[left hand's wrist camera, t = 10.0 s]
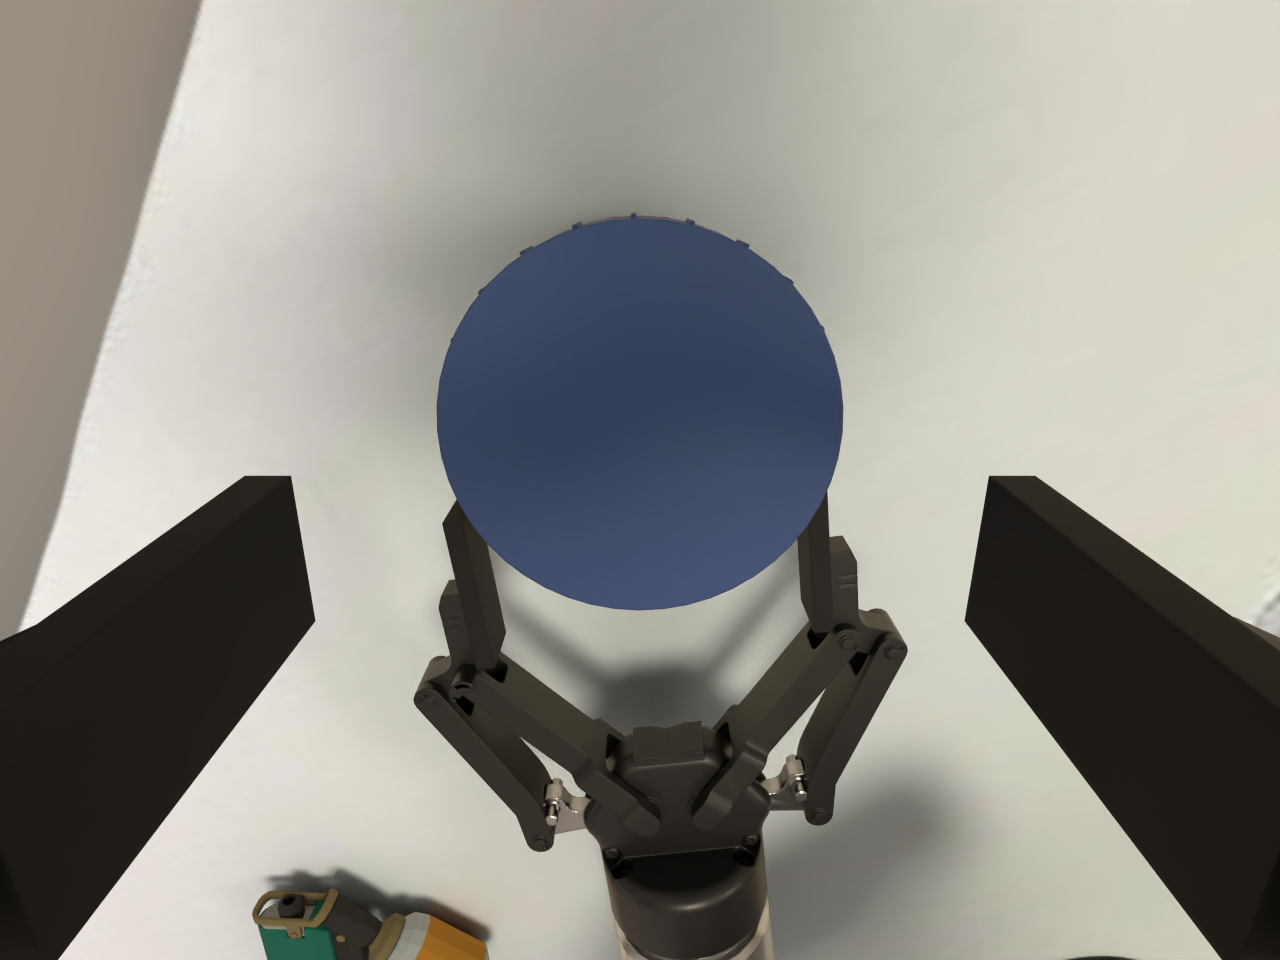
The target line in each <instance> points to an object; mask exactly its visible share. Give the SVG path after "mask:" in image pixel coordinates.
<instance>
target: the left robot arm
mask: <svg viewBox="0 0 1280 960" xmlns="http://www.w3.org/2000/svg"><path fill="white" fill-rule="evenodd" d="M314 622H315V616H314V610H313V604H312V598H311V592H310V586H309V580H308V574H307V568H306V562H305V556H304V551H303V545H302V539H301V533H300V527H299V521H298V515H297V509H296V503H295V497H294V491H293V485H292V479H291V476H244V477H242V478H241V479H240V480H238V481H237V482H235V483H234V484H233V485H231V486H230V487H228V488H227V489H226V490H224V491H223V492H221V493H220V494H219V495H217V496H216V497H214V498H213V499H212V500H210V501H209V502H207V503H206V504H205V505H203V506H202V507H200V508H199V509H198V510H196V511H195V512H193V513H192V514H191V515H189V516H188V517H186V518H185V519H184V520H182V521H181V522H179V523H178V524H177V525H175V526H174V527H172V528H171V529H170V530H168V531H167V532H165V533H164V534H163V535H161V536H160V537H158V538H157V539H156V540H154V541H153V542H151V543H150V544H149V545H147V546H146V547H144V548H143V549H142V550H140V551H139V552H137V553H136V554H135V555H133V556H132V557H130V558H129V559H128V560H126V561H125V562H123V563H122V564H121V565H119V566H118V567H116V568H115V569H114V570H112V571H111V572H109V573H108V574H107V575H105V576H104V577H102V578H101V579H100V580H98V581H97V582H95V583H94V584H93V585H91V586H90V587H88V588H87V589H86V590H84V591H83V592H81V593H80V594H79V595H77V596H76V597H74V598H73V599H72V600H70V601H69V602H67V603H66V604H65V605H63V606H62V607H60V608H59V609H58V610H56V611H55V612H53V613H52V614H51V615H49V616H48V617H46V618H45V619H44V620H42V621H41V622H39V623H38V624H36V625H34V626H32V627H30V628H28V629H26V630H24V631H21V632H19V633H17V634H15V635H13V636H11V637H8V638H6V639H4V640H2V641H0V960H58V959H59V958H60V956H61V955H62V954H63V953H64V951H65V950H66V949H67V947H68V946H69V945H70V943H71V942H72V941H73V939H74V938H75V937H76V935H77V934H78V933H79V931H80V930H81V929H82V927H83V926H84V925H85V924H86V922H87V921H88V920H89V918H90V917H91V916H92V914H93V913H94V912H95V910H96V909H97V908H98V906H99V905H100V904H101V902H102V901H103V900H104V899H105V897H106V896H107V895H108V893H109V892H110V891H111V889H112V888H113V887H114V885H115V884H116V883H117V881H118V880H119V879H120V877H121V876H122V875H123V874H124V872H125V871H126V870H127V868H128V867H129V866H130V864H131V863H132V862H133V860H134V859H135V858H136V856H137V855H138V854H139V852H140V851H141V850H142V849H143V847H144V846H145V845H146V843H147V842H148V841H149V839H150V838H151V837H152V835H153V834H154V833H155V831H156V830H157V829H158V827H159V826H160V825H161V823H162V822H163V821H164V820H165V818H166V817H167V816H168V814H169V813H170V812H171V810H172V809H173V808H174V806H175V805H176V804H177V802H178V801H179V800H180V798H181V797H182V796H183V795H184V793H185V792H186V791H187V789H188V788H189V787H190V785H191V784H192V783H193V781H194V780H195V779H196V777H197V776H198V775H199V773H200V772H201V771H202V770H203V768H204V767H205V766H206V764H207V763H208V762H209V760H210V759H211V758H212V756H213V755H214V754H215V752H216V751H217V750H218V748H219V747H220V746H221V745H222V743H223V742H224V741H225V739H226V738H227V737H228V735H229V734H230V733H231V731H232V730H233V729H234V727H235V726H236V725H237V723H238V722H239V721H240V719H241V718H242V717H243V716H244V714H245V713H246V712H247V710H248V709H249V708H250V706H251V705H252V704H253V702H254V701H255V700H256V698H257V697H258V696H259V694H260V693H261V692H262V691H263V689H264V688H265V687H266V685H267V684H268V683H269V681H270V680H271V679H272V677H273V676H274V675H275V673H276V672H277V671H278V669H279V668H280V667H281V666H282V664H283V663H284V662H285V660H286V659H287V658H288V656H289V655H290V654H291V652H292V651H293V650H294V648H295V647H296V646H297V644H298V643H299V642H300V641H301V639H302V638H303V637H304V635H305V634H306V633H307V631H308V630H309V629H310V627H311V626H312V625H313V623H314ZM965 622H966V623H967V625H968V626H969V627H970V629H971V630H972V631H973V633H974V634H975V635H976V637H977V638H978V639H979V641H980V642H981V643H982V644H983V646H984V647H985V648H986V650H987V651H988V652H989V654H990V655H991V656H992V658H993V659H994V660H995V662H996V663H997V664H998V666H999V667H1000V668H1001V669H1002V671H1003V672H1004V673H1005V675H1006V676H1007V677H1008V679H1009V680H1010V681H1011V683H1012V684H1013V685H1014V687H1015V688H1016V689H1017V691H1018V692H1019V693H1020V694H1021V696H1022V697H1023V698H1024V700H1025V701H1026V702H1027V704H1028V705H1029V706H1030V708H1031V709H1032V710H1033V712H1034V713H1035V714H1036V716H1037V717H1038V718H1039V720H1040V721H1041V722H1042V723H1043V725H1044V726H1045V727H1046V729H1047V730H1048V731H1049V733H1050V734H1051V735H1052V737H1053V738H1054V739H1055V741H1056V742H1057V743H1058V745H1059V746H1060V747H1061V748H1062V750H1063V751H1064V752H1065V754H1066V755H1067V756H1068V758H1069V759H1070V760H1071V762H1072V763H1073V764H1074V766H1075V767H1076V768H1077V770H1078V771H1079V772H1080V773H1081V775H1082V776H1083V777H1084V779H1085V780H1086V781H1087V783H1088V784H1089V785H1090V787H1091V788H1092V789H1093V791H1094V792H1095V793H1096V795H1097V796H1098V797H1099V798H1100V800H1101V801H1102V802H1103V804H1104V805H1105V806H1106V808H1107V809H1108V810H1109V812H1110V813H1111V814H1112V816H1113V817H1114V818H1115V820H1116V821H1117V822H1118V823H1119V825H1120V826H1121V827H1122V829H1123V830H1124V831H1125V833H1126V834H1127V835H1128V837H1129V838H1130V839H1131V841H1132V842H1133V843H1134V845H1135V846H1136V847H1137V849H1138V850H1139V851H1140V852H1141V854H1142V855H1143V856H1144V858H1145V859H1146V860H1147V862H1148V863H1149V864H1150V866H1151V867H1152V868H1153V870H1154V871H1155V872H1156V874H1157V875H1158V876H1159V877H1160V879H1161V880H1162V881H1163V883H1164V884H1165V885H1166V887H1167V888H1168V889H1169V891H1170V892H1171V893H1172V895H1173V896H1174V897H1175V899H1176V900H1177V901H1178V902H1179V904H1180V905H1181V906H1182V908H1183V909H1184V910H1185V912H1186V913H1187V914H1188V916H1189V917H1190V918H1191V920H1192V921H1193V922H1194V924H1195V925H1196V926H1197V927H1198V929H1199V930H1200V931H1201V933H1202V934H1203V935H1204V937H1205V938H1206V939H1207V941H1208V942H1209V943H1210V945H1211V946H1212V947H1213V949H1214V950H1215V951H1216V953H1217V954H1218V955H1219V956H1220V958H1221V959H1222V960H1280V638H1279V637H1277V636H1275V635H1272V634H1270V633H1268V632H1266V631H1264V630H1261V629H1259V628H1257V627H1255V626H1253V625H1251V624H1248V623H1246V622H1244V621H1242V620H1240V619H1238V618H1235V617H1232V616H1231V615H1229V614H1228V613H1227V612H1225V611H1224V610H1222V609H1221V608H1220V607H1218V606H1217V605H1215V604H1214V603H1213V602H1211V601H1210V600H1208V599H1207V598H1206V597H1204V596H1203V595H1201V594H1200V593H1199V592H1197V591H1196V590H1194V589H1193V588H1192V587H1190V586H1189V585H1187V584H1186V583H1185V582H1183V581H1182V580H1180V579H1179V578H1178V577H1176V576H1175V575H1173V574H1172V573H1171V572H1169V571H1168V570H1166V569H1165V568H1164V567H1162V566H1161V565H1159V564H1158V563H1157V562H1155V561H1154V560H1152V559H1151V558H1150V557H1148V556H1147V555H1145V554H1144V553H1143V552H1141V551H1140V550H1138V549H1137V548H1136V547H1134V546H1133V545H1131V544H1130V543H1129V542H1127V541H1126V540H1124V539H1123V538H1122V537H1120V536H1119V535H1117V534H1116V533H1115V532H1113V531H1112V530H1110V529H1109V528H1108V527H1106V526H1105V525H1103V524H1102V523H1101V522H1099V521H1098V520H1096V519H1095V518H1094V517H1092V516H1091V515H1089V514H1088V513H1087V512H1085V511H1084V510H1082V509H1081V508H1080V507H1078V506H1077V505H1075V504H1074V503H1073V502H1071V501H1070V500H1068V499H1067V498H1066V497H1064V496H1063V495H1061V494H1060V493H1059V492H1057V491H1056V490H1054V489H1053V488H1052V487H1050V486H1049V485H1047V484H1046V483H1045V482H1043V481H1042V480H1040V479H1039V478H1038V477H1036V476H989V479H988V485H987V491H986V497H985V503H984V509H983V515H982V521H981V527H980V533H979V539H978V545H977V551H976V556H975V562H974V568H973V574H972V580H971V586H970V592H969V598H968V604H967V610H966V616H965Z"/></svg>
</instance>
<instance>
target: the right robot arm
mask: <svg viewBox="0 0 1280 960" xmlns="http://www.w3.org/2000/svg"><path fill="white" fill-rule="evenodd" d="M442 524H443V529H444V533H445V537H446V541H447V546H448V550H449V554H450V558H451V563H452V567H453V571H454V575H455V579H454V580H449V581H448V583H447V585H446V587H445V589H444V591H443V593H442V595H441V599H440V604H439V611H440V615H441V619H442V623H443V627H444V631H445V636H446V640H447V644H448V648H449V652H450V655H449V656H447V657H445V656H437V657H434V658H433V659H432V660H431V661H430V662H429V665H428V667H427V669H426V671H425V673H424V676H423V678H422V680H421V682H420V684H419V687H418V689H417V691H416V694H415V696H414V704H415V705H416V707H417V708H418V709H419V710H420V712H421V713H422V714H423V715H424V716H425V717H426V718H427V719H428V720H429V721H430V722H431V723H432V725H433V726H434V727H435V728H436V729H437V730H438V731H439V732H440V733H441V734H442V735H443V736H444V738H445V739H446V740H447V741H448V742H449V743H450V744H451V745H452V746H453V747H454V748H455V749H456V751H457V752H458V753H459V754H460V755H461V756H462V757H463V758H464V759H465V760H466V761H467V763H468V764H469V765H470V766H471V767H472V768H473V769H474V770H475V771H476V772H477V773H478V774H479V776H480V777H481V778H482V779H483V780H484V781H485V782H486V783H487V784H488V785H489V786H490V787H491V789H492V790H493V791H494V792H495V793H496V794H497V795H498V796H499V797H500V798H501V799H502V801H503V802H504V803H505V804H506V805H507V806H508V807H509V808H510V809H511V810H512V811H513V812H514V814H515V815H516V816H517V818H518V821H519V824H520V826H521V829H522V832H523V834H524V837H525V839H526V842H527V844H528V846H529V847H530V848H531V849H532V850H534V851H538V852H544V851H547V850H549V849H550V848H551V847H552V846H553V843H554V836H555V834H558V833H564V832H569V831H574V830H579V829H584V828H587V830H588V831H589V832H590V833H591V834H592V835H593V836H594V837H595V838H596V840H597V841H598V843H599V845H600V848H601V853H602V858H603V863H604V869H605V874H606V879H607V885H608V890H609V895H610V901H611V906H612V911H613V914H614V923H615V928H616V933H617V938H618V943H619V948H620V953H621V958H622V960H774V952H773V942H772V931H771V921H770V911H769V901H768V896H767V880H766V869H765V858H764V847H763V835H762V826H763V823H764V821H765V819H766V817H767V815H768V814H769V811H778V810H804V813H805V817H806V820H807V821H808V822H809V823H811V824H812V825H818V826H819V825H824V824H826V823H828V822H829V821H830V820H831V818H832V815H833V807H834V796H835V786H836V783H837V781H838V779H839V777H840V776H841V774H842V772H843V770H844V768H845V766H846V765H847V763H848V761H849V759H850V757H851V756H852V754H853V752H854V750H855V748H856V746H857V745H858V743H859V741H860V739H861V737H862V735H863V734H864V732H865V730H866V728H867V726H868V725H869V723H870V721H871V719H872V717H873V715H874V714H875V712H876V710H877V708H878V706H879V704H880V703H881V701H882V699H883V697H884V695H885V694H886V692H887V690H888V688H889V686H890V684H891V683H892V681H893V679H894V677H895V675H896V674H897V672H898V670H899V668H900V666H901V664H902V663H903V661H904V659H905V657H906V655H907V652H908V650H907V645H906V644H905V642H904V640H903V639H902V637H901V635H900V633H899V632H898V630H897V628H896V627H895V625H894V623H893V622H892V620H891V618H890V617H889V615H888V614H887V612H886V611H884V610H882V609H877V608H876V609H871V610H869V611H863V610H860V609H858V585H857V561H856V559H855V557H854V555H853V553H852V551H851V549H850V548H849V546H848V544H847V543H846V541H845V539H844V537H843V536H835V537H829V520H828V498H827V491H826V494H825V496H824V498H823V500H822V502H821V505H820V506H819V508H818V509H817V511H816V513H815V514H814V516H813V517H812V519H811V521H810V522H809V524H808V525H807V527H806V528H805V529H804V530H803V532H802V533H801V534H800V535H799V536H798V538H797V540H798V556H799V573H800V589H801V601H802V603H803V606H804V608H805V611H806V613H807V616H808V618H809V621H808V623H807V624H806V625H805V626H804V627H803V629H802V630H801V631H800V632H799V633H798V635H797V636H796V637H795V638H794V639H793V641H792V642H791V643H790V644H789V645H788V647H787V648H786V649H785V650H784V651H783V653H782V654H781V655H780V656H779V657H778V659H777V660H776V661H775V662H774V664H773V665H772V666H771V667H770V668H769V670H768V671H767V672H766V673H765V674H764V676H763V677H762V678H761V679H760V680H759V682H758V683H757V684H756V685H755V686H754V688H753V689H752V690H751V691H750V692H749V694H748V695H747V696H746V697H745V698H744V700H743V701H742V702H741V703H740V704H739V705H732V706H731V707H730V708H729V709H728V710H727V712H726V713H725V714H724V715H723V716H722V718H721V719H720V720H719V721H718V722H717V724H716V725H715V726H714V727H713V729H711V728H708V727H703V726H701V721H697V722H688V723H682V724H679V725H676V726H673V727H670V728H659V727H650V726H649V727H640V728H633V734H630V735H628V736H626V737H624V736H623V735H622V734H620V733H619V732H618V731H616V730H615V729H614V728H612V727H611V726H610V725H608V724H607V723H606V722H604V721H603V720H601V719H596V720H592V719H590V718H589V717H588V716H586V715H585V714H584V713H582V712H581V711H580V710H578V709H577V708H576V707H574V706H573V705H572V704H570V703H569V702H568V701H566V700H565V699H563V698H562V697H561V696H559V695H558V694H557V693H555V692H554V691H553V690H551V689H550V688H549V687H547V686H546V685H545V684H543V683H542V682H541V681H539V680H538V679H537V678H535V677H534V676H533V675H531V674H530V673H529V672H527V671H526V670H525V669H523V668H522V667H521V666H519V665H518V664H517V663H515V662H514V661H513V660H511V659H510V658H508V657H507V656H506V655H504V654H503V653H502V652H500V650H501V647H502V644H503V641H504V637H505V634H506V630H505V625H504V621H503V616H502V611H501V607H500V602H499V597H498V593H497V588H496V584H495V579H494V574H493V570H492V565H491V560H490V556H489V551H488V546H487V543H486V541H485V540H484V539H483V538H482V537H481V535H480V534H479V533H478V532H477V530H476V529H475V528H474V527H473V525H472V524H471V522H470V521H469V519H468V517H467V516H466V514H465V513H464V511H463V509H462V508H461V506H460V504H459V503H458V500H456V501H455V503H454V505H453V506H452V508H451V510H450V511H449V513H448V515H447V516H446V518H445V520H444V521H443V523H442ZM825 688H826V689H825ZM824 689H825V691H824V693H823V695H822V697H821V699H820V701H819V703H818V705H817V707H816V708H815V710H814V712H813V714H812V716H811V718H810V720H809V722H808V724H807V726H806V728H805V730H804V732H803V734H802V736H801V739H800V742H799V745H798V749H797V756H796V755H789V756H787V758H786V764H785V765H784V766H783V768H782V771H781V773H780V774H779V775H778V776H776V777H774V778H772V779H766V777H765V776H764V774H763V773H762V770H763V769H764V767H765V765H766V761H767V757H768V754H769V752H770V751H771V750H772V749H773V748H774V746H775V745H776V744H777V743H778V742H779V741H780V740H781V738H782V737H783V736H784V735H785V734H786V733H787V732H788V730H789V729H790V728H791V727H792V726H793V725H794V724H795V722H796V721H797V720H798V719H799V718H800V717H801V715H802V714H803V713H804V712H805V711H806V710H807V709H808V707H809V706H810V705H811V704H812V703H813V702H814V701H815V699H816V698H817V697H818V696H819V695H820V694H821V693H822V691H823V690H824ZM518 735H519V736H520V737H521V738H523V739H524V740H526V741H527V742H528V743H530V744H531V745H532V746H534V747H535V748H537V749H538V750H539V751H541V752H542V753H544V754H545V755H546V756H548V757H549V758H551V759H552V760H553V761H555V762H556V763H558V764H559V765H560V766H562V767H563V768H565V769H566V770H567V771H569V772H570V773H571V774H572V776H573V778H574V781H575V783H576V784H577V786H578V787H579V788H580V789H581V790H583V791H584V792H585V793H586V795H585V797H575V796H573V795H571V794H570V793H569V792H568V791H567V790H566V788H565V787H564V786H563V782H562V780H561V779H559V778H554V779H552V780H551V778H550V775H549V773H548V771H547V770H546V768H545V766H544V765H543V763H542V762H541V761H540V760H539V758H538V757H537V756H536V755H535V754H534V753H533V752H532V750H531V749H530V748H529V747H528V746H527V745H526V744H525V742H524V741H523V740H522V739H521V738H520V737H519V736H518ZM606 759H607V760H606Z"/></svg>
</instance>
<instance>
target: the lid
mask: <svg viewBox="0 0 1280 960" xmlns="http://www.w3.org/2000/svg"><path fill="white" fill-rule="evenodd" d="M572 227H573V229H570V230H567V231H565V232H563V233H561V234H559V235H557V236H555V237H553V238H551V239H549V240H547V241H545V242H543V243H541V244H539V245H537V246H535V247H534V248H533V246H531V247H529V248H527V249H525V250H522V251H521V252H520V255H521V256H520V257H519V258H517V259H516V260H515V261H513V262H512V263H510V264H509V265H508V266H507V267H505V268H504V269H503V270H502V271H501V272H500V273H499V274H498V275H497V276H496V277H495V278H494V279H493V280H492V281H491V282H490V283H489V284H488V285H487V286H486V287H484V288H482V289H481V290H480V291H479V292H478V294H480V295H479V296H478V297H477V298H476V300H475V301H474V302H473V303H472V305H471V306H470V307H469V309H468V311H467V313H466V314H465V316H464V318H463V319H462V321H461V323H460V325H459V326H458V328H457V330H456V332H455V334H454V337H453V338H452V339H451V341H450V342H451V344H450V347H449V349H448V351H447V354H446V357H445V361H444V365H443V369H442V373H441V377H440V382H439V390H438V399H437V433H438V439H439V445H440V451H441V457H442V460H443V464H444V467H445V470H446V474H447V477H448V480H449V483H450V485H451V487H452V489H453V492H454V494H455V496H456V498H457V500H458V503H459V504H460V506H461V508H462V509H463V511H464V513H465V514H466V516H467V517H468V519H469V521H470V522H471V524H472V525H473V527H474V528H475V529H476V530H477V532H478V533H479V534H480V535H481V537H482V538H483V539H484V540H485V541H486V543H487V544H488V545H489V546H490V547H491V548H492V549H493V550H494V551H495V552H496V553H497V554H498V555H499V556H500V557H502V558H503V559H504V560H505V561H506V562H507V563H508V564H510V565H511V566H512V567H514V568H515V569H516V570H518V571H519V572H520V573H522V574H523V575H524V576H526V577H528V578H529V579H531V580H533V581H535V582H536V583H538V584H540V585H541V586H543V587H545V588H547V589H549V590H552V591H554V592H556V593H559V594H561V595H563V596H565V597H568V598H571V599H574V600H578V601H581V602H584V603H588V604H591V605H596V606H602V607H608V608H613V609H626V610H654V609H666V608H672V607H678V606H684V605H689V604H692V603H696V602H699V601H702V600H706V599H709V598H712V597H714V596H717V595H719V594H721V593H724V592H726V591H728V590H731V589H733V588H735V587H737V586H738V585H740V584H742V583H744V582H745V581H747V580H749V579H751V578H752V577H754V576H756V575H757V574H758V573H760V572H761V571H762V570H764V569H765V568H766V567H768V566H769V565H770V564H772V563H773V562H774V561H775V560H776V559H777V558H778V557H779V556H781V555H782V554H783V553H784V552H785V551H786V550H787V549H788V548H789V547H790V546H791V545H792V544H793V543H794V541H795V540H796V539H797V538H798V536H799V535H800V534H801V533H802V532H803V530H804V529H805V528H806V527H807V525H808V524H809V522H810V521H811V519H812V517H813V516H814V514H815V513H816V511H817V509H818V508H819V506H820V505H821V502H822V500H823V498H824V496H825V494H826V491H827V489H828V487H829V485H830V483H831V480H832V477H833V473H834V470H835V467H836V464H837V461H838V457H839V451H840V445H841V439H842V433H843V400H842V390H841V381H840V377H839V373H838V369H837V365H836V361H835V357H834V354H833V352H832V349H831V347H830V344H829V342H828V339H827V337H826V334H825V332H824V328H823V326H821V325H820V323H819V321H818V319H817V318H816V316H815V314H814V313H813V311H812V309H811V307H810V306H809V305H808V304H807V302H806V301H805V300H804V298H803V297H802V296H801V295H800V293H799V292H798V291H797V289H796V288H795V287H794V286H793V285H792V284H793V283H794V282H793V281H792V280H790V279H789V278H787V277H785V276H783V275H782V274H781V273H780V272H779V271H778V270H777V269H776V268H775V267H774V266H772V265H771V264H769V263H768V262H767V261H765V260H764V259H763V258H761V257H760V256H758V255H757V254H756V253H754V252H753V251H752V250H750V249H748V247H749V246H750V245H748V244H747V243H745V242H742V241H740V240H738V239H737V241H736V242H735V241H733V240H731V239H729V238H727V237H726V236H724V235H722V234H720V233H718V232H715V231H712V230H710V229H707V228H704V227H702V226H699V225H696V224H695V221H693V220H691V219H688V218H687V219H686V222H685V221H680V220H675V219H671V218H665V217H651V216H636V213H631V216H629V217H614V218H610V219H605V220H600V221H595V222H590V223H587V224H584V225H582V222H579V223H576V224H574V225H572Z"/></svg>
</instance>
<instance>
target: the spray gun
mask: <svg viewBox="0 0 1280 960" xmlns="http://www.w3.org/2000/svg"><path fill="white" fill-rule="evenodd" d="M337 895H338V891H336V890H334V889H333V888H331V889H329V890H328V892H327V893H314V892H293V891H270V892H267V893H266V894H264V895H263V896H262V897H261V898H260V899H259V900H258V902H257V904H256V906H255V907H254V909H253V913H252V916H253V919H254V921H255V923H256V924H258V927H259V931H260V935H261V938H262V942H263V945H264V949H265V952H266V956H267V959H268V960H489V955H488V950H487V945H486V944H485V943H484V942H482V941H480V940H478V939H476V938H474V937H472V936H470V935H468V934H466V933H464V932H462V931H460V930H458V929H456V928H454V927H453V926H451V925H449V924H447V923H445V922H443V921H441V920H439V919H437V918H435V917H433V916H431V915H429V914H425V913H419V912H414V913H412V914H409V915H407V916H405V917H404V916H403V915H401V914H399V913H394V914H392V915H391V916H390V917H389V918H388V919H386V920H384V921H382V922H381V921H380V920H378V919H377V918H376V917H375V916H373V915H372V914H370V913H368V912H367V911H365V910H363V909H362V908H360V907H358V906H357V905H355V904H354V903H352V902H350V901H349V900H347V899H345V898H344V897H342V896H341V895H338V896H337ZM271 899H282V900H281V901H280V902H279V903H277V904H274V905H272V906H270V907H268V908H267V909H265V910H264V911H263V912H262V913H261V915H260V916H259V913H260V911H261V910H262V908H263V906H264V905H265V903H266V902H267V901H269V900H271ZM313 900H321V901H318V902H317V903H316V905H314V901H313ZM322 901H325V902H322Z"/></svg>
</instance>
